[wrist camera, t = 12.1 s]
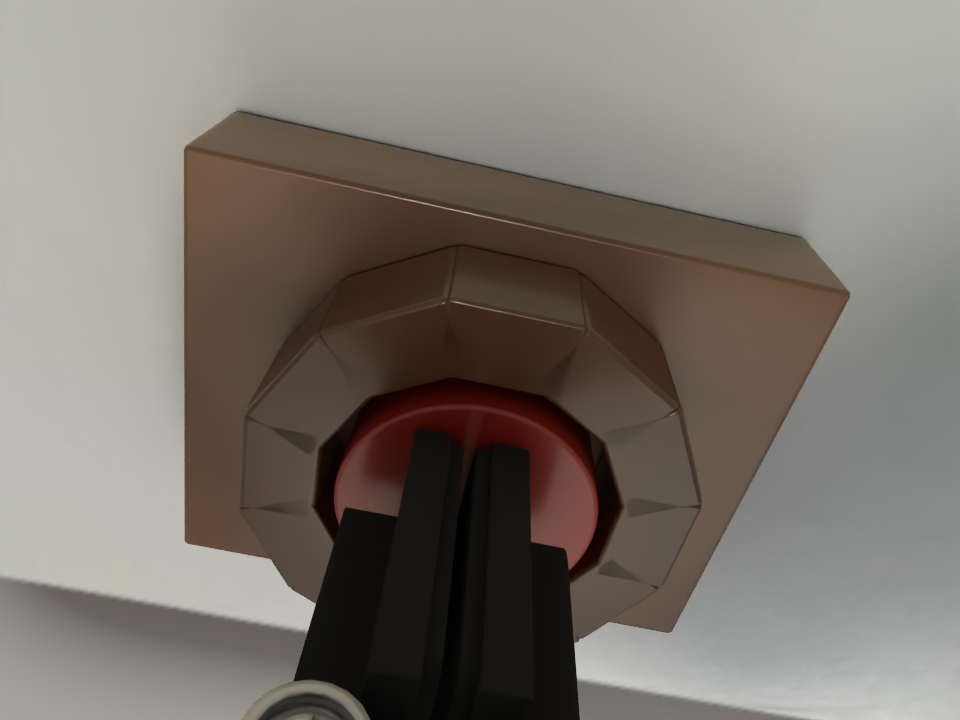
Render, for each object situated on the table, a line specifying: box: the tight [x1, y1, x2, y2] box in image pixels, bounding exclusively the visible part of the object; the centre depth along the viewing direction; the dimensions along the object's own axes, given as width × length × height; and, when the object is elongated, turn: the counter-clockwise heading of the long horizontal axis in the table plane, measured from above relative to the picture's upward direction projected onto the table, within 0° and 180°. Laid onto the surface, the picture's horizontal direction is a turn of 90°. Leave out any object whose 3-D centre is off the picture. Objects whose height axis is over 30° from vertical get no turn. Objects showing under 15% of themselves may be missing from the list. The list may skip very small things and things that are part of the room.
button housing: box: [184, 112, 850, 642], centre depth 13 cm, size 10×8×4 cm
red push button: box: [334, 377, 599, 570], centre depth 12 cm, size 4×4×2 cm
